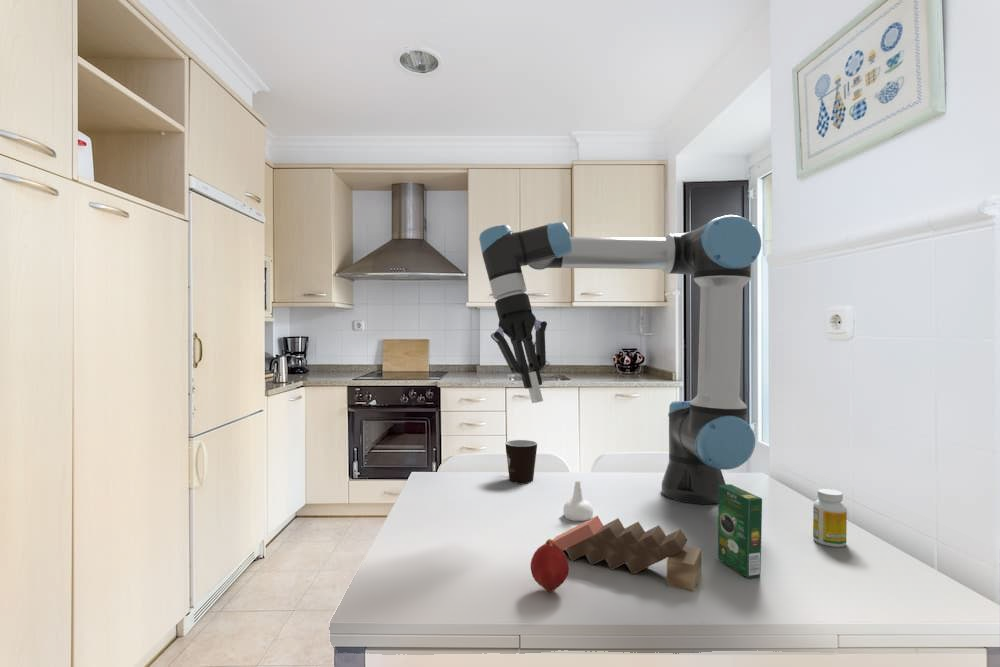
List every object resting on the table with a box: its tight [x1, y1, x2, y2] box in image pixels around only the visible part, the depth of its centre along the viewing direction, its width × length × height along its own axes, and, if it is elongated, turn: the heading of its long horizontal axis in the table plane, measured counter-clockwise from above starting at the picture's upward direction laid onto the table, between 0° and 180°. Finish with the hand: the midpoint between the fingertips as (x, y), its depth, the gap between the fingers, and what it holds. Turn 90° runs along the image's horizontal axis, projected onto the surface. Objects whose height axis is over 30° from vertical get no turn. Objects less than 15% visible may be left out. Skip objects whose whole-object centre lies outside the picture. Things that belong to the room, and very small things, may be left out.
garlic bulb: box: [562, 480, 594, 522], centre depth 115 cm, size 6×6×8 cm
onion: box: [530, 538, 570, 593], centre depth 81 cm, size 6×6×8 cm
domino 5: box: [625, 528, 688, 575], centre depth 87 cm, size 2×5×10 cm
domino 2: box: [565, 517, 626, 561], centre depth 93 cm, size 2×5×10 cm
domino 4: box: [604, 524, 667, 570], centre depth 89 cm, size 2×5×10 cm
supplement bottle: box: [812, 488, 848, 548], centre depth 101 cm, size 5×5×10 cm
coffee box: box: [717, 483, 763, 579], centre depth 89 cm, size 8×3×13 cm, turn 13°
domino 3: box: [585, 521, 646, 566], centre depth 91 cm, size 2×5×10 cm
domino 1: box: [552, 515, 604, 552], centre depth 94 cm, size 2×5×10 cm
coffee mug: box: [505, 439, 538, 484], centre depth 145 cm, size 12×9×10 cm
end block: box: [666, 545, 702, 592], centre depth 85 cm, size 4×7×4 cm, turn 151°
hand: (537, 401), depth 115 cm, fingers closed
